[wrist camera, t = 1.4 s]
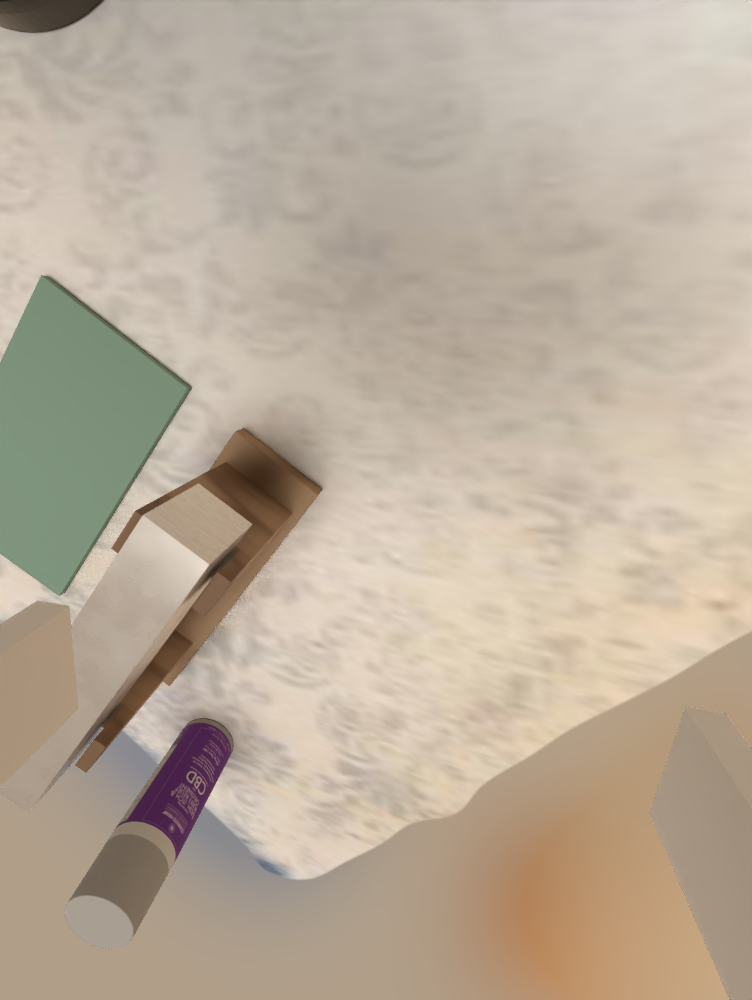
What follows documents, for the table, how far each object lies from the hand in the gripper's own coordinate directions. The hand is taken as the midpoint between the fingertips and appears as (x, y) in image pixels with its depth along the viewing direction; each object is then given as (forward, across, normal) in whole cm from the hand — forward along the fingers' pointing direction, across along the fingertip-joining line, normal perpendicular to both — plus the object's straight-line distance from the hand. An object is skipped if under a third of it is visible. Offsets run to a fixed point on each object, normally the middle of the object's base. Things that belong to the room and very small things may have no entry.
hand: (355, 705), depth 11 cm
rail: (+16, -15, -10) cm, 24 cm away
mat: (+26, -27, -3) cm, 37 cm away
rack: (+26, -15, -10) cm, 32 cm away
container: (+26, -15, -28) cm, 41 cm away
